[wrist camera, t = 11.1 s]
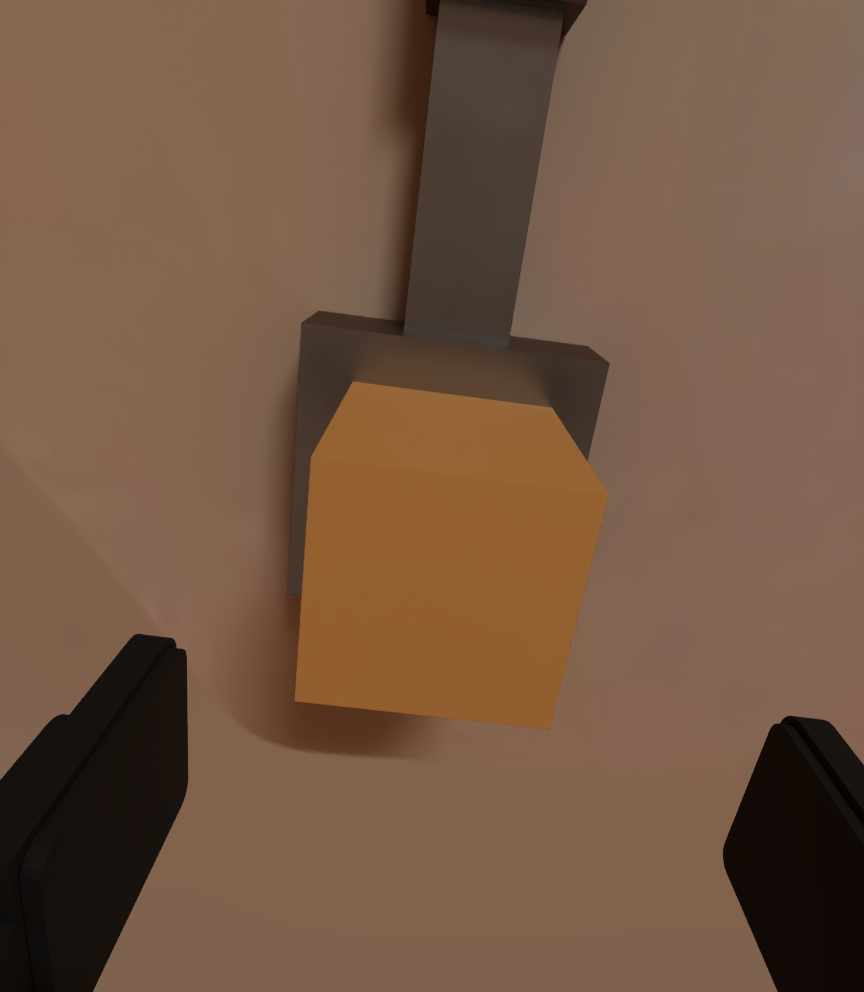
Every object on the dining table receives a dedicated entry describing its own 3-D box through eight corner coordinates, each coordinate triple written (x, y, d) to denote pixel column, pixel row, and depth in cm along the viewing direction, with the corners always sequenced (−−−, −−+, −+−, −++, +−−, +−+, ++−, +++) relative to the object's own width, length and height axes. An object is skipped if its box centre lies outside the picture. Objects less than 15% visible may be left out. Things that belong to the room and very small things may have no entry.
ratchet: (537, 580, 25) (565, 679, 20) (303, 554, 25) (265, 646, 19) (781, -561, 15) (994, -1048, 9) (377, -639, 14) (339, -1197, 9)
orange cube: (552, 407, 20) (608, 494, 13) (516, 582, 22) (549, 729, 16) (352, 381, 20) (310, 456, 13) (337, 560, 22) (294, 701, 15)
